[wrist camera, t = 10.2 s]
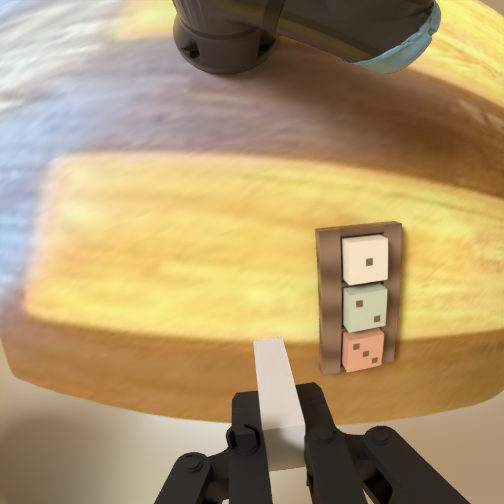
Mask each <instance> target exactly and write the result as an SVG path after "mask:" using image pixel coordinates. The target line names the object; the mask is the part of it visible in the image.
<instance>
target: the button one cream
mask: <svg viewBox="0 0 504 504" xmlns="http://www.w3.org/2000/svg"><path fill="white" fill-rule="evenodd" d="M342 260H343V279H344V280H345V281H346V282H347V283H348V284H349V285H355V284H362V283H368V282H375V281H381V280H387V279H388V238H386V237H383V236H381V235H370V236H361V237H352V238H343V239H342Z"/></svg>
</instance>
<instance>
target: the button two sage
mask: <svg viewBox="0 0 504 504" xmlns="http://www.w3.org/2000/svg"><path fill="white" fill-rule="evenodd" d="M386 307H387V289H386V288H385V287H384V286H383V285H381V284H380V283H374V284H368V285H361V286H355V287H348V288H343V324H344V326H345V327H346V329H347V330H348V332H349V333H350V332H356V331H361V330H366V329H371V328H376V327H381V326H385V322H386Z"/></svg>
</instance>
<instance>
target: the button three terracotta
mask: <svg viewBox="0 0 504 504" xmlns="http://www.w3.org/2000/svg"><path fill="white" fill-rule="evenodd" d="M383 342H384V333H383V332H382V331H381V330H380V328H379V327H376V328H371V329H366V330H361V331H356V332H350V333H349V332H348V331H345V332H343V344H342V364H343V366H344V368H345V370H346V371H347V372H352V371H357V370H361V369H366V368H370V367H375V366H379V365H381V361H382V352H383Z"/></svg>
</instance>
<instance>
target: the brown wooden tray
mask: <svg viewBox="0 0 504 504" xmlns="http://www.w3.org/2000/svg"><path fill="white" fill-rule="evenodd" d="M315 232H316V249H317V268H318V292H319V330H320V370H321V373H322V375H323V376H325V375H331V374H336V373H341V372H346V370H345V368H344V366H343V364H342V344H343V332H345V331H348V330H347V329H346V327H345V326H344V324H343V288H348V287H355V286H361V285H368V284H374V283H380V284H381V285H383V286H384V287H385V288H386V289H387V307H386V322H385V326H381V327H379V328H380V330H381V331H382V332H383V333H384V342H383V352H382V361H381V364H383V363H387V362H391V361H393V359H394V352H395V343H396V335H397V325H398V314H399V300H400V284H401V257H402V223H399V222H396V221H391V222H381V223H370V224H360V225H350V226H340V227H330V228H320V229H315ZM370 235H381V236H383V237H386V238H388V279H387V280H381V281H375V282H368V283H362V284H355V285H349V284H348V283H347V282H346V281H345V280H344V279H343V260H342V239H343V238H352V237H361V236H370Z"/></svg>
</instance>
